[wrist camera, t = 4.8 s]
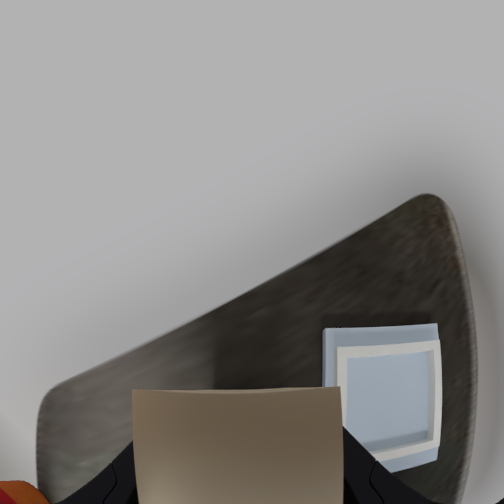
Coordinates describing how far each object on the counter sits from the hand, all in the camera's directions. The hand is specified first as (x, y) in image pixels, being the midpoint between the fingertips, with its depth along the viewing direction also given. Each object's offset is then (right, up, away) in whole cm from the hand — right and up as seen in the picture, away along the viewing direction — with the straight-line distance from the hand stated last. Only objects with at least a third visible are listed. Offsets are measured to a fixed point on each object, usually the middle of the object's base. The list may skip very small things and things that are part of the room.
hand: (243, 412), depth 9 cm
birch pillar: (0, -4, +5) cm, 7 cm away
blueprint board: (+9, -4, +6) cm, 11 cm away
